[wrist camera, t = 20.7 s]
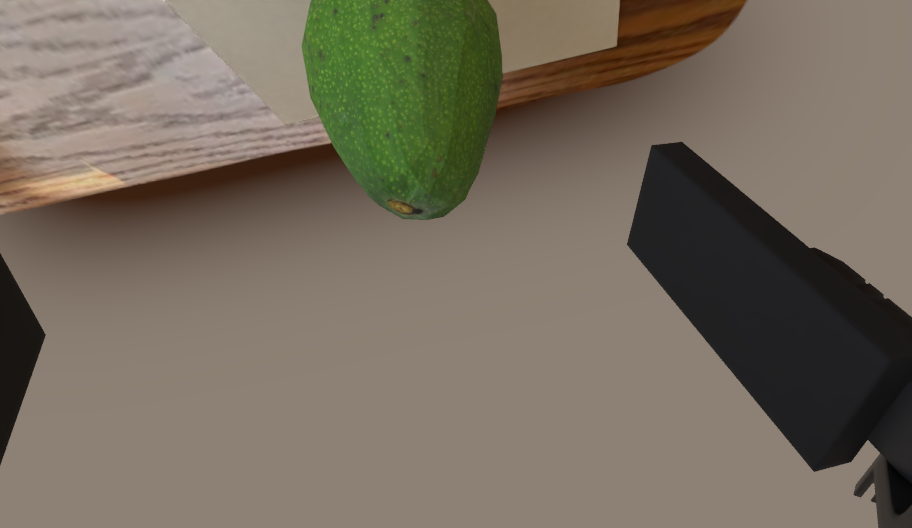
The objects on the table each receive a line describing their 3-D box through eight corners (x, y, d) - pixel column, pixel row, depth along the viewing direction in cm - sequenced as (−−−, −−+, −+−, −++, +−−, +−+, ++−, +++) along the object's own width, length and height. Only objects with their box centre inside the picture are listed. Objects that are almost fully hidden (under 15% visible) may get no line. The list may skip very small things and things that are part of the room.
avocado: (410, -165, 21) (455, 145, 17) (514, -32, 27) (563, 214, 24) (253, -46, 25) (265, 228, 21) (377, 46, 31) (402, 267, 28)
